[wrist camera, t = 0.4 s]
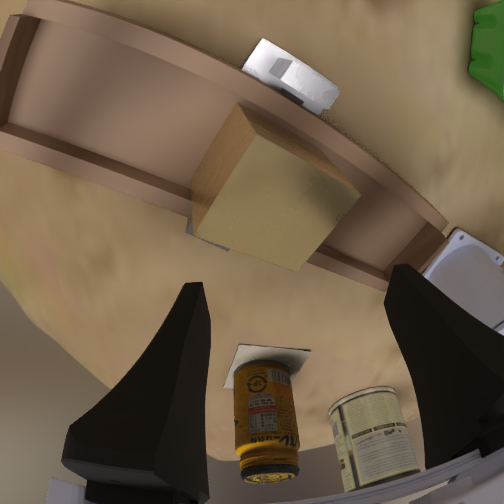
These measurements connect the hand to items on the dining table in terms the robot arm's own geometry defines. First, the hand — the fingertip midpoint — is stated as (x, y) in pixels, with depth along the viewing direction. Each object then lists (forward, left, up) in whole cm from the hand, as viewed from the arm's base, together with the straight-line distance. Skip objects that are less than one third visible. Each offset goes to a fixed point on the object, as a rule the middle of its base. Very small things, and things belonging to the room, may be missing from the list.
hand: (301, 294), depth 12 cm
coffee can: (-26, +25, -10) cm, 38 cm away
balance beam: (+2, -2, -7) cm, 7 cm away
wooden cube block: (+2, -2, -5) cm, 6 cm away
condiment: (-8, +19, -10) cm, 23 cm away
